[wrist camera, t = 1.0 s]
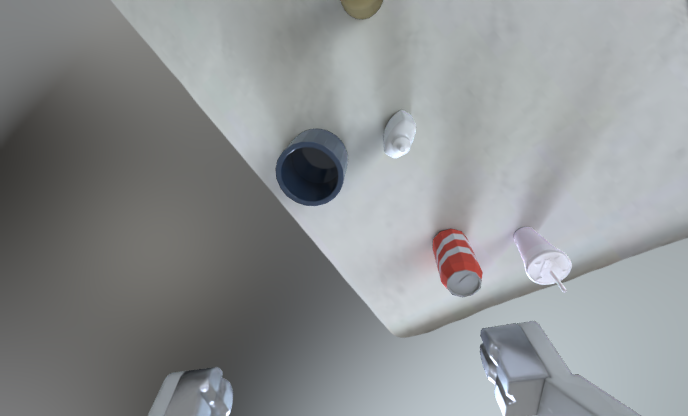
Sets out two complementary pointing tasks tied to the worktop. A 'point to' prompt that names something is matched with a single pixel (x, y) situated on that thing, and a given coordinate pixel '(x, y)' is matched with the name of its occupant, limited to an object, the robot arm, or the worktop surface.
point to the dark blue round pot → (312, 167)
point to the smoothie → (542, 258)
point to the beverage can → (457, 263)
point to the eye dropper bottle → (399, 134)
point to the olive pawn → (361, 7)
